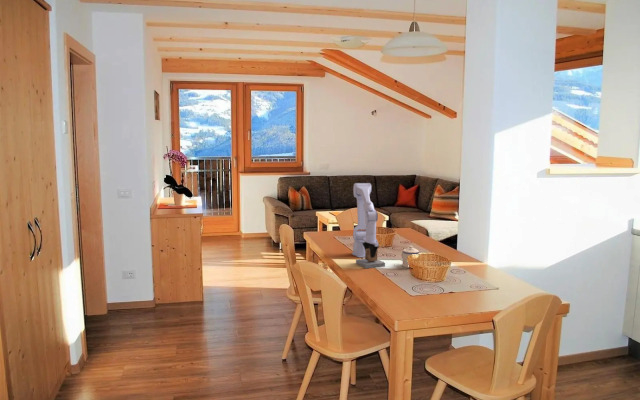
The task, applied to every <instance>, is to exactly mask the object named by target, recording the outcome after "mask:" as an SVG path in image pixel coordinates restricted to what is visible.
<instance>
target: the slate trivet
mask: <svg viewBox="0 0 640 400" xmlns="http://www.w3.org/2000/svg"><path fill="white" fill-rule="evenodd" d="M355 264H356V265H358V266H360V267H362V268H364V269H375V268H381V267H383V268H384V267H386V263H385V262H384V261H382V260H380V259H378V258H377V261H368V260H366V259H365V258H360V259H355Z"/></svg>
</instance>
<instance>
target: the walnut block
mask: <svg viewBox="0 0 640 400" xmlns="http://www.w3.org/2000/svg"><path fill="white" fill-rule="evenodd" d="M364 259H366V260H368V261H377V259H378V249H377V251H376V254H375V257H374V258H371V255H370V249H365V257H364Z"/></svg>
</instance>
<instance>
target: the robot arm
mask: <svg viewBox="0 0 640 400" xmlns="http://www.w3.org/2000/svg"><path fill="white" fill-rule="evenodd" d="M352 188H353V189H352V190H353V197H354V198H356V206H357V207H356V208H357V209H356V210H357V211H356V212H357V225H356V226H355V227H354V228H353V233H352V238H353V239H352V240H353V241H354V242H353V246H352V247H353V248H352V250H353V252H352V253H351V255H353V256H355V257H357V258H365V249H370V255H371V258H374V257H375V254H376V251H377V250H378V249H379V242H378V239H377V222H378V219H379V216H378V215H379V214H378V212H377V210H376V209H375V206H374V203H373V202H372V201H371V198H370V195H371V192H372V184H371V183H370V182H366V183H365V182H362V183H361V182H355V183H354V184H353V187H352Z"/></svg>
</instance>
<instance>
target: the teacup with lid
mask: <svg viewBox="0 0 640 400" xmlns="http://www.w3.org/2000/svg"><path fill="white" fill-rule="evenodd" d="M412 254H420V251H419V250H418V249H417V248H415V247H414V246H413V245H409V246H408V247H407V248H404V249H402V252H401V259H402V267H403V268H406V269H410V268H409V267H408V262H407V257H408V256H409V255H412Z"/></svg>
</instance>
